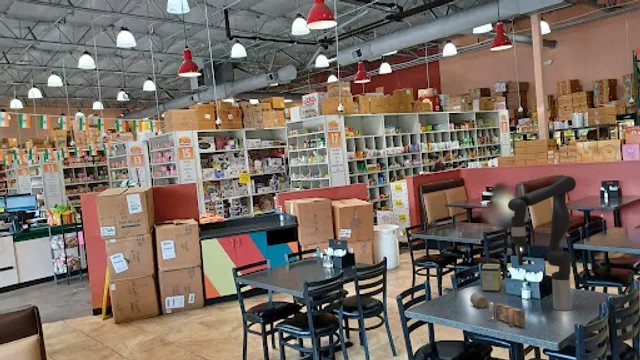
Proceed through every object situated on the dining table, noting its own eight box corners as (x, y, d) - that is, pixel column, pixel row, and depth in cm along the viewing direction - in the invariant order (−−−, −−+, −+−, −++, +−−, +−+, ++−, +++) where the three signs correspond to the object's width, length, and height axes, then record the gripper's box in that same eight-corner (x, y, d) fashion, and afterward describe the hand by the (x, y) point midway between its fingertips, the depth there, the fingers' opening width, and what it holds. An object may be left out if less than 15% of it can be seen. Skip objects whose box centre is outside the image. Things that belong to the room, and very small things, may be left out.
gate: (495, 317, 289) (494, 303, 288) (498, 316, 290) (497, 302, 289) (521, 326, 271) (521, 311, 271) (525, 325, 272) (524, 310, 272)
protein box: (501, 286, 353) (500, 263, 352) (499, 292, 339) (498, 268, 338) (485, 285, 357) (484, 263, 356) (482, 292, 343) (481, 268, 342)
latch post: (513, 325, 277) (512, 308, 277) (514, 327, 275) (513, 310, 274) (508, 325, 278) (507, 308, 277) (509, 327, 275) (508, 310, 275)
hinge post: (496, 318, 291) (495, 301, 290) (497, 321, 286) (496, 303, 285) (487, 318, 292) (486, 301, 291) (488, 321, 287) (487, 304, 286)
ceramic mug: (477, 309, 308) (477, 296, 308) (470, 305, 316) (469, 293, 316) (493, 307, 311) (493, 294, 311) (485, 303, 319) (485, 291, 319)
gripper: (528, 236, 287) (529, 267, 288) (523, 232, 300) (525, 262, 301) (513, 236, 289) (515, 268, 290) (509, 232, 302) (511, 262, 303)
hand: (520, 265), depth 296 cm, fingers closed
